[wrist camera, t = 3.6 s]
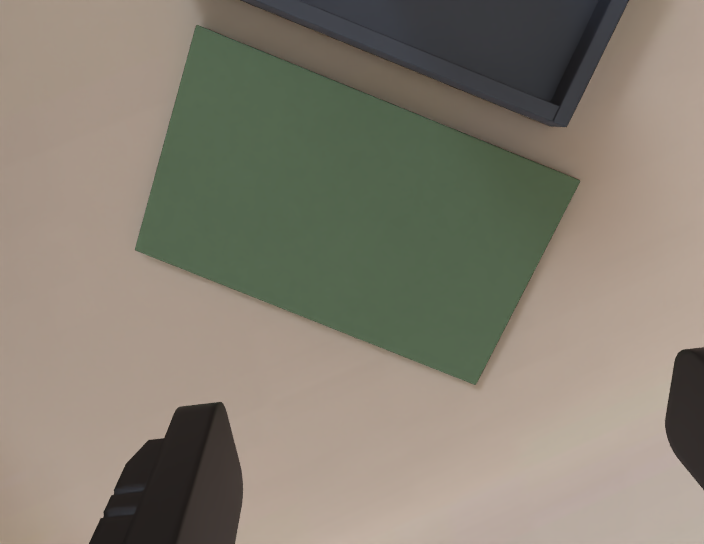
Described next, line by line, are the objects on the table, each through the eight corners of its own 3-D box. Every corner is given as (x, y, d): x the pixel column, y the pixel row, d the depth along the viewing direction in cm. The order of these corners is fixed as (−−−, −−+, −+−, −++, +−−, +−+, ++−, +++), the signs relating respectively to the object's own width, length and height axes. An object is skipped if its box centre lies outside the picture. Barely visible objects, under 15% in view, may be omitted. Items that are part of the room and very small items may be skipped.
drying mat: (139, 247, 30) (134, 250, 29) (200, 26, 26) (195, 24, 26) (474, 380, 30) (476, 385, 30) (577, 179, 27) (581, 180, 26)
